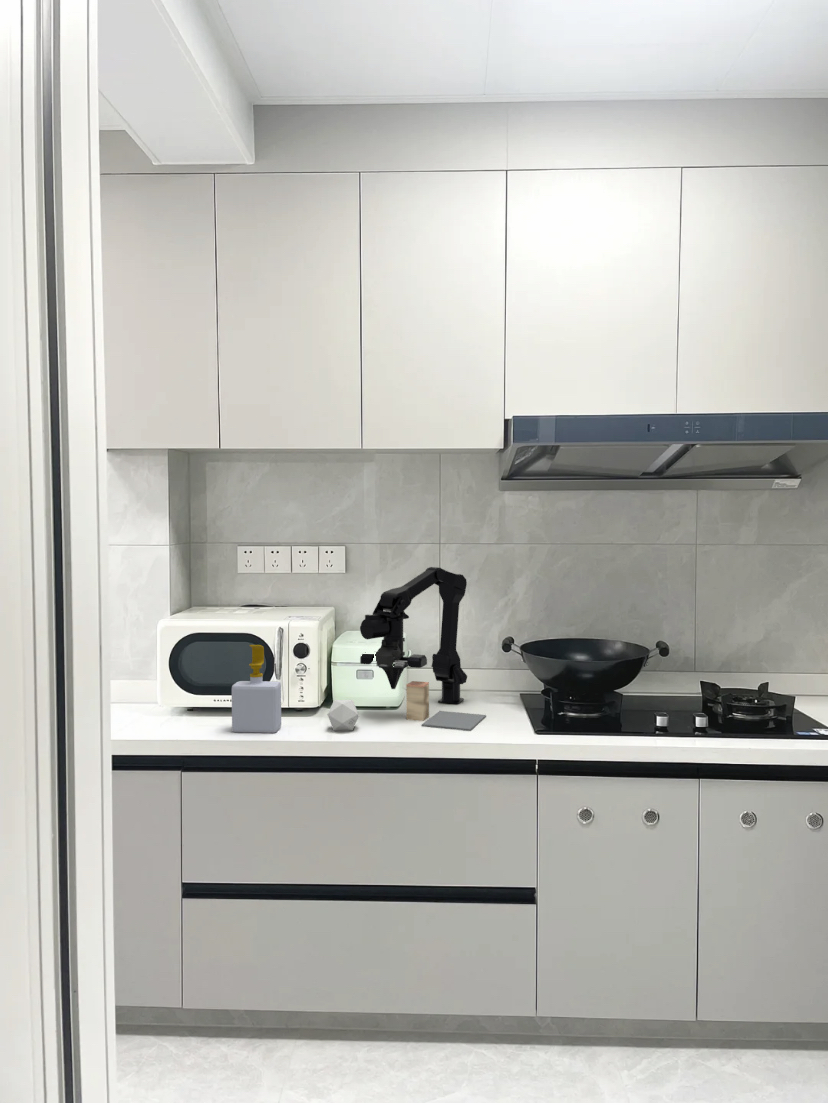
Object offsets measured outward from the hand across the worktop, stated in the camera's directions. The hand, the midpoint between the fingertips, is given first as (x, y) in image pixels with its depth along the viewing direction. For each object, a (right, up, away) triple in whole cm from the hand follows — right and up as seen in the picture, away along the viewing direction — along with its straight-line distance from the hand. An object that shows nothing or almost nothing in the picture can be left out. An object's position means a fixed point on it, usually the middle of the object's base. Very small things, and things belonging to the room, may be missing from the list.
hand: (393, 689), depth 238 cm
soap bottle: (-37, -9, -15) cm, 40 cm away
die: (-13, -9, -14) cm, 21 cm away
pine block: (+7, -8, -2) cm, 11 cm away
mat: (+17, -8, -6) cm, 20 cm away
